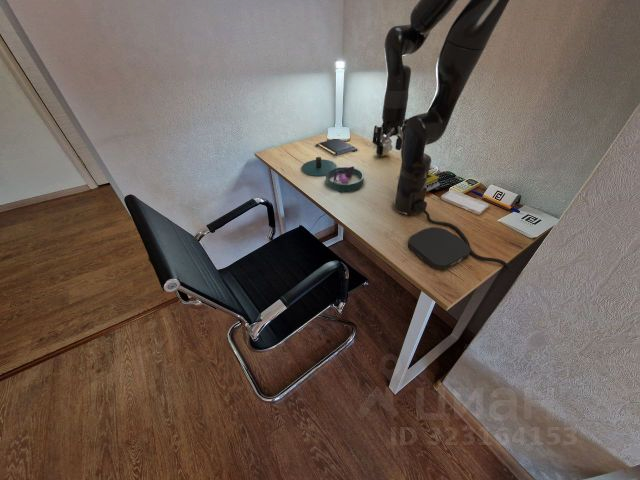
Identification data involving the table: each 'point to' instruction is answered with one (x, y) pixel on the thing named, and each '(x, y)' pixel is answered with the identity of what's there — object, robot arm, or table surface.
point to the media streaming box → (438, 247)
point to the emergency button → (430, 180)
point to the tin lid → (318, 167)
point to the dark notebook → (336, 147)
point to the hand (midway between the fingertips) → (388, 152)
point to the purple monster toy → (344, 177)
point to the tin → (345, 187)
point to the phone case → (465, 202)
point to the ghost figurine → (384, 147)
